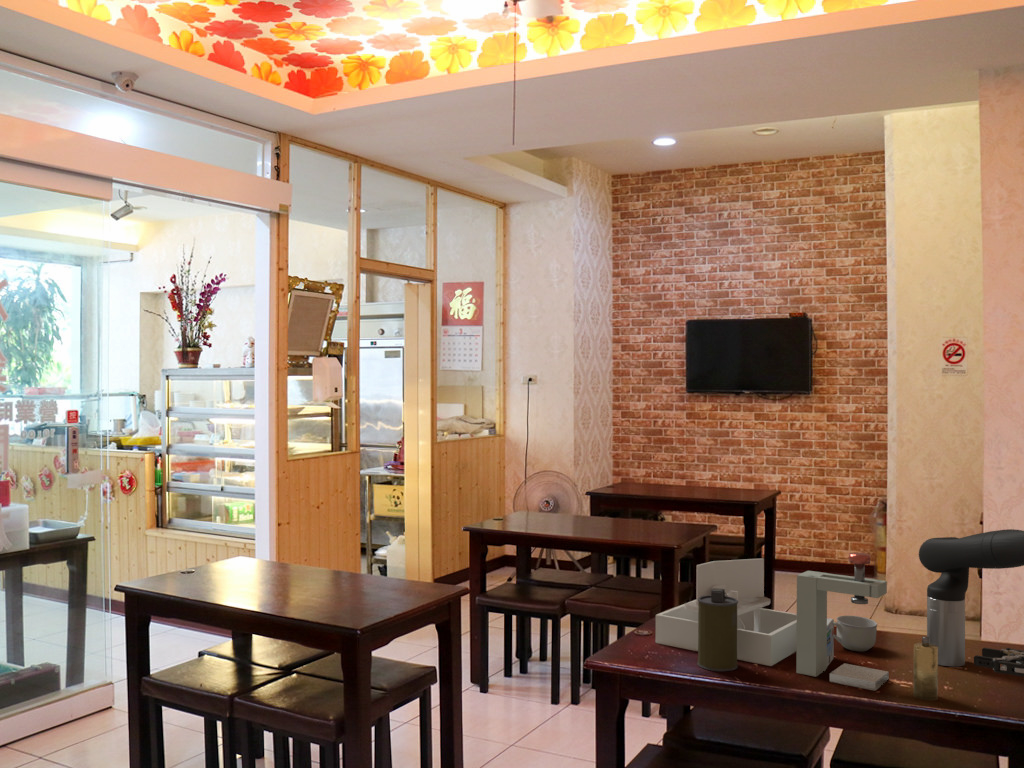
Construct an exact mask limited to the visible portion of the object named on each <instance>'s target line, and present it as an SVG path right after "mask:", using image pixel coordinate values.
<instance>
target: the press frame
mask: <svg viewBox="0 0 1024 768" xmlns="http://www.w3.org/2000/svg"><path fill="white" fill-rule="evenodd" d="M887 585H888V581H887V580H882V579H874V578H867V577H865V582H859V581H854V576H852V575H851V576H849V575H844V574H836V573H835V574H834V573H828V572H821V571H813V570H806V571H804V572H801V573H798V574H797V575H796V614H797V651H796V652H795V653H796V669H795V670H796V672H795V673H796V674H800V675H806V676H811V677H815V678H816V677H818V676H819V675H821V674H823V673H824V672H826V669H828V666H827V618H828V592H832V593H839V594H846V595H853V596H854V595H858V596H865V598H873V599H874V598H875V599H879V598H880V597H882V596H884V595H887V593H888V592H887V591H888V589H887V588H888V586H887ZM823 671H824V672H823Z"/></svg>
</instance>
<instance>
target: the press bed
mask: <svg viewBox="0 0 1024 768" xmlns="http://www.w3.org/2000/svg"><path fill="white" fill-rule="evenodd" d="M889 674H890V673H889V671H887V670H883V669H882V670H881V669H878V668H877V669H875V668H873V667H872V668H871V667H866V666H861V665H855V664H849V663H843V664H841V665H840V666H838V667H837V668H835V669H834V670H832V671H831V672H830V673H829V682H830V683H835V684H840V685H845V686H850V687H854V688H860V689H865V690H869V691H872V692H873V691H875V692H876V691H877V690H878V689H879V688H881V687H882V686H883V685H884V684H885V683H886V682H888V681H889V680H888V679H889V677H890V675H889ZM887 680H888V681H887ZM883 683H884V684H883ZM881 685H882V686H881Z"/></svg>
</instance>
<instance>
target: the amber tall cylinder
mask: <svg viewBox="0 0 1024 768" xmlns="http://www.w3.org/2000/svg"><path fill="white" fill-rule="evenodd" d="M929 640H930V638H929V637H927V636H924V635H923V636H921V642H915V643H914V644H913V697H915V698H916V699H919V698H920V699H919V700H924V701H936V700H938V698H939V697H938V694H939V693H938V690H939V689H938V688H939V687H938V685H939V684H938V683H939V681H938V680H939V678H938V677H939V676H938V675H939V669H938V667H939V665H938V647H937V646H936V645H933V644H929Z"/></svg>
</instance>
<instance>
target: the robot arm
mask: <svg viewBox="0 0 1024 768" xmlns="http://www.w3.org/2000/svg"><path fill="white" fill-rule="evenodd" d="M918 559H919V561H920V563H921V564H922V566H923V567H924V568H925V569H927V570H928V571H929V572H933V573H937V574H940V573H941V574H940V576H939V577H938V578H937V579H936V580H934V581H933V582H932V583H930V584H929V585H928V586H927V587H926V637H929V638H930V640H929V644H933V645H936V646H937V647H938V666H942V667H943V666H945V667H962V666H965V665H966V594H967V591H968V590H969V589H968V588H969V578H970V576H969V575H970V569H971V568H972V569H986V570H989V569H990V570H991V569H992V570H993V569H994V570H995V569H997V570H998V569H1014V568H1019V567H1023V566H1024V530H1023V529H1021V530H1020V529H1014V528H1013V529H1012V528H1011V529H1010V528H1009V529H999V530H998V529H997V530H991V531H985V532H980V533H976V534H971V535H968V536H963V537H955V536H954V537H953V536H951V537H950V536H947V537H932V538H928V539H926V540H924V542H923V543H922V544H921V545H920V548H919V550H918ZM973 664H974V666H976V667H980V668H981V667H982V668H988V669H992V670H993V672H994V673H997V674H1003V675H1010V676H1016V677H1021V678H1022V677H1023V678H1024V650H1022V649H1016V648H1010V647H1005V648H1002V649H996V648H991V647H990V648H989V647H983V648H982V649H981V655H978V654H977V655H975V656H973Z"/></svg>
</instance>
